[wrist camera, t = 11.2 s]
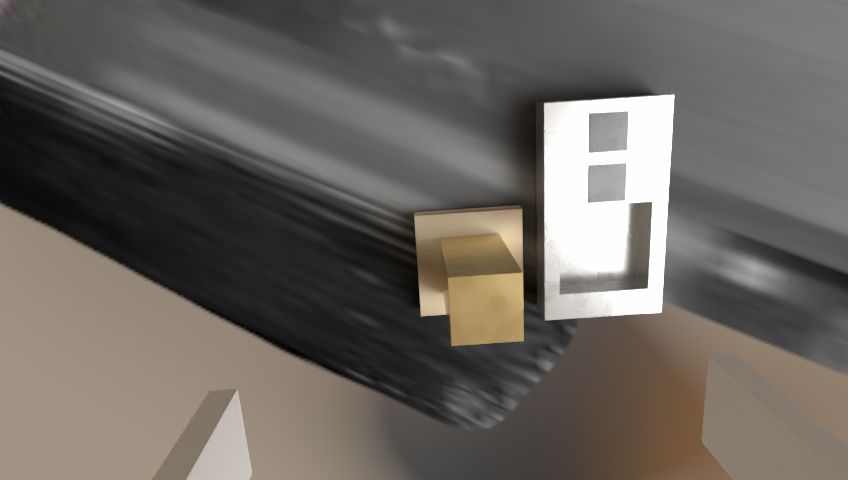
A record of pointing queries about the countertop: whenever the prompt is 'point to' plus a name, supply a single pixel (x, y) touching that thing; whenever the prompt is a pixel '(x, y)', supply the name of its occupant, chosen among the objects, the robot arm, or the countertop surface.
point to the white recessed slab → (602, 204)
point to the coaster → (454, 225)
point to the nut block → (481, 290)
